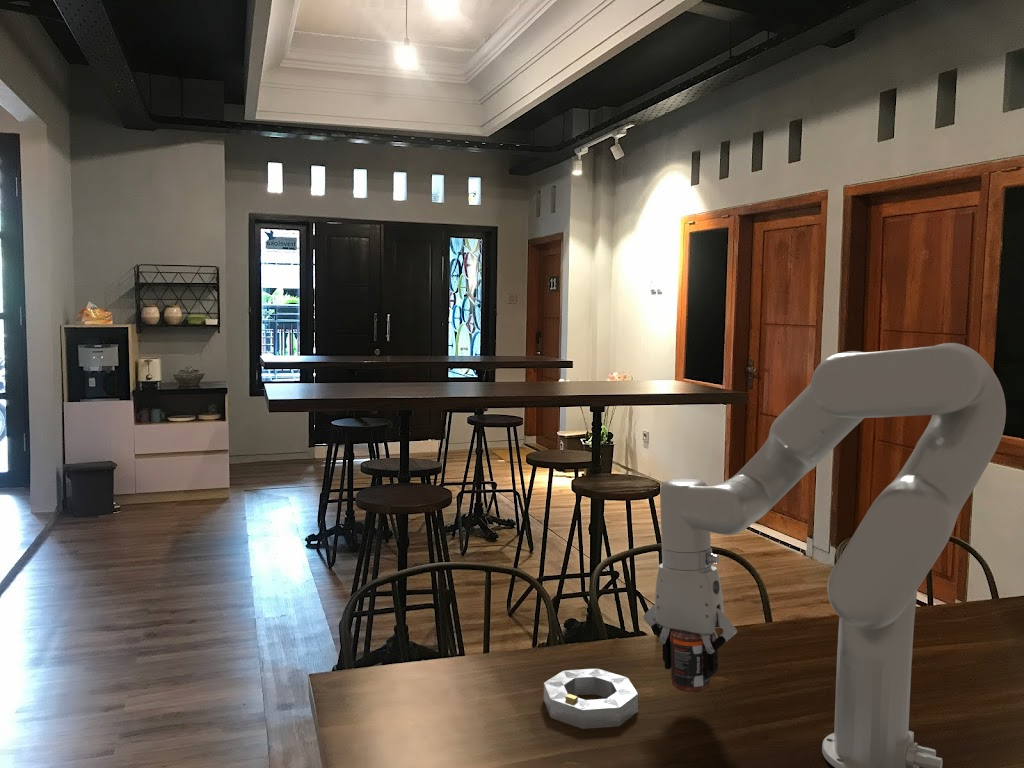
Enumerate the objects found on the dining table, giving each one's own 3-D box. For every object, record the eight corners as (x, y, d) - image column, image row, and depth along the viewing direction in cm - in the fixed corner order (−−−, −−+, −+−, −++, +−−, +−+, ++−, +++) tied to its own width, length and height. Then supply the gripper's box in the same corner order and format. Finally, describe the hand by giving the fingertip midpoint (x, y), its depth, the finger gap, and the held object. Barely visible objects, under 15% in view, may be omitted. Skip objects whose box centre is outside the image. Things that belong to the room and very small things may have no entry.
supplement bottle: (710, 695, 128) (708, 622, 127) (671, 693, 129) (668, 621, 128) (709, 679, 134) (707, 610, 133) (671, 677, 135) (669, 609, 134)
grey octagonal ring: (649, 702, 135) (650, 680, 135) (605, 737, 124) (606, 713, 123) (576, 679, 143) (576, 658, 143) (528, 710, 132) (528, 687, 132)
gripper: (748, 559, 128) (752, 673, 129) (648, 546, 138) (652, 652, 139) (729, 571, 122) (733, 691, 123) (626, 557, 133) (630, 667, 133)
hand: (690, 669), depth 131 cm, fingers closed on supplement bottle, 6 cm apart
